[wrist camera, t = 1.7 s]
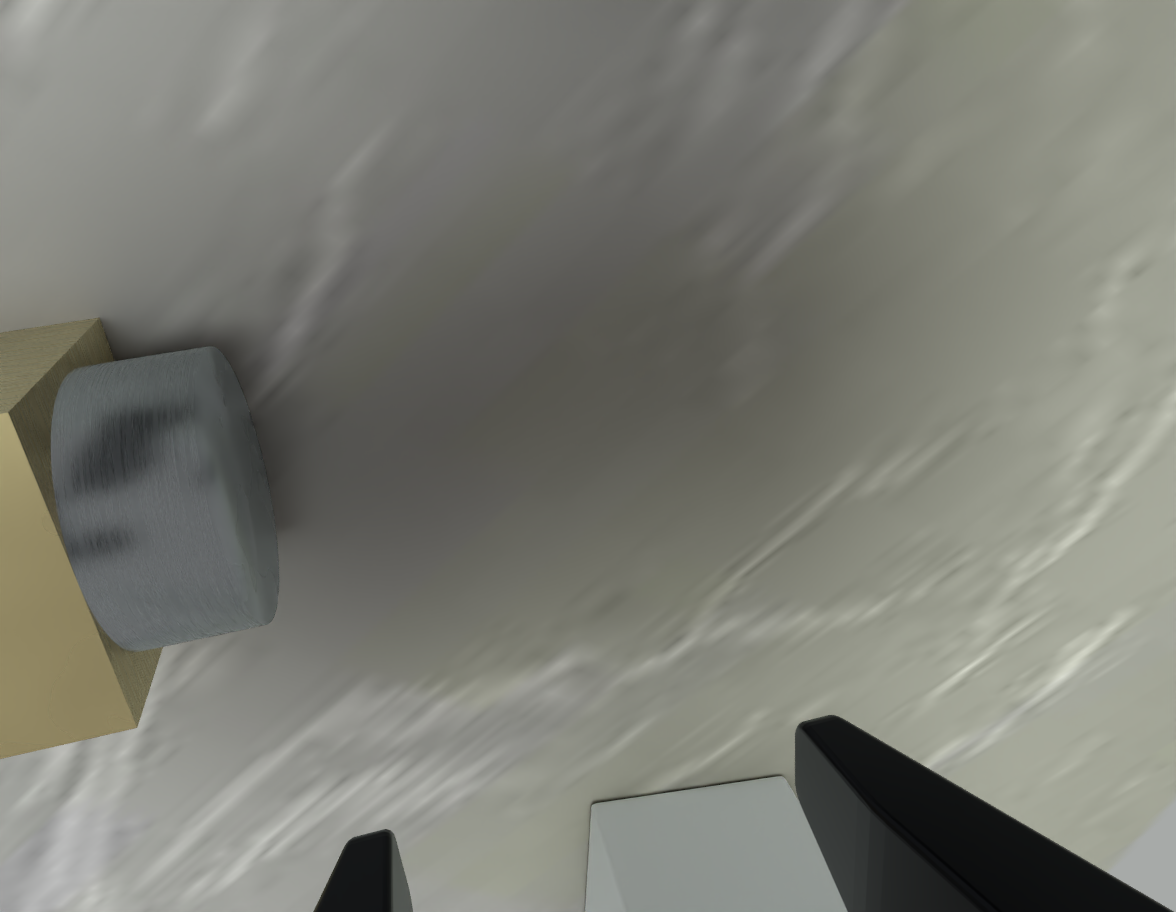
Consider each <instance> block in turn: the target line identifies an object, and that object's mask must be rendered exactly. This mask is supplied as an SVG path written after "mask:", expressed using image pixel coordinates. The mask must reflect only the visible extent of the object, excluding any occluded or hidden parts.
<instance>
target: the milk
mask: <svg viewBox="0 0 1176 912" xmlns="http://www.w3.org/2000/svg"><path fill="white" fill-rule="evenodd" d="M585 912H847V909H846V907H845V905H844V903H843V900H842V898H841V896H840V893H839V891H838V889H837V887H836V884H835V882H834V880H833V878H832V875H831V873H830V871H829V869H828V866H827V864H826V862H825V859H824V857H823V855H822V853H821V850H820V848H819V846H818V844H817V841H816V839H815V837H814V834H813V832H812V830H811V828H810V825H809V823H808V821H807V819H806V816H805V814H804V812H803V810H802V807H801V805H800V802H799V801H798V799H797V797H796V796H795V794H794V792H793V791H792V789H791V787H790V786H789V784H788V782H787V781H786V779H785V778H784V777H783V776H777V777H770V778H763V779H756V780H750V781H743V782H736V783H729V784H723V785H716V786H709V787H702V788H696V789H689V790H682V791H675V792H669V793H662V794H655V795H648V796H642V797H635V798H628V799H621V800H615V801H608V802H601V803H595V804H593V805H592V807H591V820H590V837H589V853H588V870H587V886H586V903H585Z"/></svg>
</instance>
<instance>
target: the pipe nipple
mask: <svg viewBox="0 0 1176 912" xmlns="http://www.w3.org/2000/svg"><path fill="white" fill-rule="evenodd" d="M278 593H279V561H278V547H277V537H276V528H275V520H274V513H273V507H272V501H271V495H270V490H269V484H268V479H267V475H266V470H265V465H264V461H263V457H262V453H261V449H260V446H259V442H258V439H257V435H256V432H255V428H254V425H253V421H252V418H251V414H250V411H249V408H248V405H247V402H246V399H245V397H244V394H243V391H242V389H241V387H240V384H239V382H238V380H237V377H236V375H235V373H234V371H233V369H232V367H231V366H230V364H229V362H228V361H227V359H226V358H225V356H224V355H223V354H222V353H221V351H220V350H219V349H217V348H216V347H213V346H207V347H201V348H195V349H189V350H183V351H176V352H170V353H164V354H158V355H151V356H145V357H139V358H133V359H126V360H120V361H114V358H113V355H112V353H111V350H110V347H109V344H108V341H107V338H106V335H105V332H104V329H103V326H102V324H101V321H100V318H95V319H88V320H82V321H75V322H68V323H62V324H55V325H49V326H42V327H35V328H29V329H22V330H16V331H9V332H2V333H0V759H2V758H6V757H11V756H15V755H20V754H24V753H28V752H33V751H37V750H42V749H46V748H50V747H55V746H59V745H64V744H68V743H72V742H77V741H81V740H86V739H90V738H94V737H99V736H103V735H108V734H112V733H116V732H121V731H125V730H129V729H134V728H137V727H138V723H139V720H140V717H141V714H142V711H143V708H144V705H145V702H146V698H147V695H148V692H149V689H150V686H151V683H152V680H153V677H154V673H155V670H156V667H157V664H158V661H159V658H160V655H161V652H162V648H163V647H164V646H169V645H174V644H178V643H183V642H188V641H193V640H197V639H202V638H207V637H211V636H216V635H221V634H225V633H230V632H235V631H239V630H244V629H249V628H253V627H258V626H263V625H267V624H269V623H270V622H271V621H272V619H273V618H274V615H275V612H276V608H277V603H278Z"/></svg>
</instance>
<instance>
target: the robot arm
mask: <svg viewBox="0 0 1176 912" xmlns="http://www.w3.org/2000/svg"><path fill="white" fill-rule="evenodd" d="M795 786H796V791H797V795H798V799H799V802H800V805H801V807H802V810H803V812H804V814H805V816H806V819H807V821H808V823H809V825H810V828H811V830H812V832H813V834H814V837H815V839H816V841H817V844H818V846H819V848H820V850H821V853H822V855H823V857H824V859H825V862H826V864H827V866H828V869H829V871H830V873H831V875H832V878H833V880H834V882H835V884H836V887H837V889H838V891H839V893H840V896H841V898H842V900H843V903H844V905H845V907H846V909H847V912H1173V911H1172V910H1170V909H1168V908H1167V907H1165V906H1163V905H1162V904H1160V903H1158V902H1156V901H1155V900H1153V899H1151V898H1149V897H1148V896H1146V895H1144V894H1143V893H1141V892H1139V891H1138V890H1136V889H1134V888H1132V887H1131V886H1129V885H1127V884H1126V883H1124V882H1122V881H1120V880H1119V879H1117V878H1115V877H1114V876H1112V875H1110V874H1108V873H1107V872H1105V871H1103V870H1102V869H1100V868H1098V867H1096V866H1095V865H1093V864H1091V863H1090V862H1088V861H1086V860H1084V859H1083V858H1081V857H1079V856H1078V855H1076V854H1074V853H1072V852H1071V851H1069V850H1067V849H1066V848H1064V847H1062V846H1060V845H1059V844H1057V843H1055V842H1054V841H1052V840H1050V839H1048V838H1047V837H1045V836H1043V835H1042V834H1040V833H1038V832H1036V831H1035V830H1033V829H1031V828H1030V827H1028V826H1026V825H1024V824H1023V823H1021V822H1019V821H1018V820H1016V819H1014V818H1012V817H1011V816H1009V815H1007V814H1006V813H1004V812H1002V811H1000V810H999V809H997V808H995V807H994V806H992V805H990V804H988V803H987V802H985V801H983V800H982V799H980V798H978V797H976V796H975V795H973V794H971V793H970V792H968V791H966V790H964V789H963V788H961V787H959V786H958V785H956V784H954V783H952V782H951V781H949V780H947V779H946V778H944V777H942V776H940V775H939V774H937V773H935V772H934V771H932V770H930V769H928V768H927V767H925V766H923V765H922V764H920V763H918V762H916V761H915V760H913V759H911V758H910V757H908V756H906V755H904V754H903V753H901V752H899V751H898V750H896V749H894V748H892V747H891V746H889V745H887V744H886V743H884V742H882V741H880V740H879V739H877V738H875V737H874V736H872V735H870V734H868V733H867V732H865V731H863V730H862V729H860V728H858V727H856V726H855V725H853V724H851V723H850V722H848V721H846V720H844V719H843V718H841V717H838V716H835V715H828V716H824V717H820V718H816V719H812V720H808V721H804V722H802V723H800V724H799V725H798V726H797V729H796V732H795ZM314 912H413V909H412V902H411V896H410V892H409V887H408V883H407V880H406V876H405V872H404V868H403V865H402V861H401V857H400V853H399V850H398V846H397V842H396V839H395V836H394V834H393V832H392V831H390V830H387V829H384V830H380V831H376V832H372V833H368V834H365V835H361V836H357V837H354V838H352V839H350V840H349V841H348V842H347V843H346V845H345V847H344V849H343V851H342V853H341V855H340V857H339V859H338V861H337V863H336V866H335V868H334V870H333V872H332V874H331V876H330V878H329V880H328V882H327V884H326V887H325V889H324V891H323V893H322V895H321V897H320V899H319V901H318V903H317V905H316V908H315V910H314Z"/></svg>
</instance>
